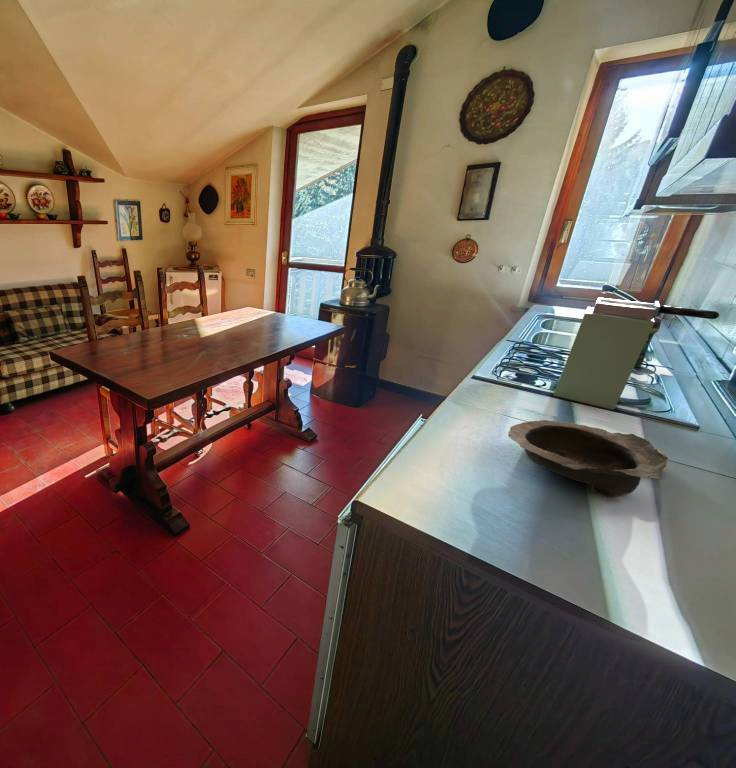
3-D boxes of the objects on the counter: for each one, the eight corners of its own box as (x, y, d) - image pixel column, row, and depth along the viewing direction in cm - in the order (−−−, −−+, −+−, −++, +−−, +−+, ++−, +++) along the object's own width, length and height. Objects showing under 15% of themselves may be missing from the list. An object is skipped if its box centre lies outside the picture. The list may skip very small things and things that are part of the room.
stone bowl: (684, 522, 70) (705, 480, 67) (519, 498, 79) (530, 459, 75) (614, 449, 91) (627, 415, 88) (490, 437, 100) (497, 404, 97)
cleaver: (711, 321, 102) (718, 307, 101) (717, 328, 95) (725, 313, 94) (594, 307, 117) (599, 295, 115) (592, 312, 110) (597, 299, 109)
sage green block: (614, 397, 120) (652, 314, 110) (614, 410, 112) (654, 322, 102) (557, 384, 129) (587, 306, 118) (553, 395, 121) (584, 313, 110)
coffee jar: (607, 363, 148) (627, 315, 141) (606, 357, 154) (626, 311, 146) (642, 369, 143) (666, 319, 135) (640, 363, 148) (662, 315, 141)
